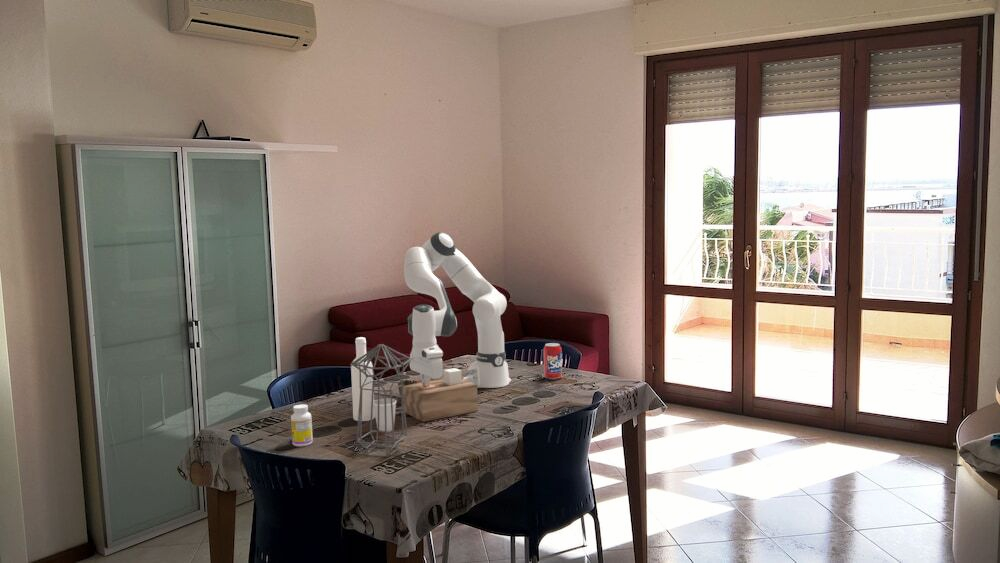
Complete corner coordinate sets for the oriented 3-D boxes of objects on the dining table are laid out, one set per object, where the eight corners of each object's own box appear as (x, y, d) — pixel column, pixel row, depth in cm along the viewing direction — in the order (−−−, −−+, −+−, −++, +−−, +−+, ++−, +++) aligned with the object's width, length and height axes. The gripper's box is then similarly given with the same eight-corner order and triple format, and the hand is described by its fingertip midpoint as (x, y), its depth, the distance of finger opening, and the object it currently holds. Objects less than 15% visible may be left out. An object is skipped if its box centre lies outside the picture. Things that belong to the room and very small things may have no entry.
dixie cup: (376, 425, 274) (374, 398, 273) (399, 425, 274) (398, 398, 273) (371, 433, 266) (370, 404, 265) (395, 432, 266) (394, 404, 265)
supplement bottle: (294, 441, 260) (292, 403, 258) (314, 440, 260) (312, 402, 259) (290, 447, 253) (288, 409, 251) (311, 446, 253) (309, 408, 252)
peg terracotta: (418, 409, 288) (417, 385, 287) (430, 407, 291) (429, 383, 290) (424, 412, 284) (423, 388, 283) (436, 410, 287) (435, 386, 286)
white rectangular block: (444, 393, 294) (443, 369, 293) (455, 391, 296) (454, 368, 295) (450, 395, 289) (449, 372, 288) (462, 393, 292) (461, 370, 291)
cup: (420, 400, 307) (420, 380, 306) (411, 404, 300) (410, 384, 300) (404, 398, 310) (404, 378, 309) (394, 403, 304) (394, 383, 303)
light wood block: (403, 411, 291) (402, 385, 290) (457, 401, 303) (456, 376, 302) (422, 421, 278) (421, 394, 277) (477, 410, 290) (477, 384, 289)
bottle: (368, 422, 279) (364, 340, 275) (349, 420, 282) (345, 339, 278) (379, 416, 286) (375, 336, 283) (360, 414, 289) (356, 335, 286)
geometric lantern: (371, 442, 256) (369, 338, 252) (415, 447, 251) (414, 341, 248) (348, 458, 241) (346, 347, 237) (394, 463, 236) (393, 350, 233)
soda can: (550, 375, 343) (549, 341, 342) (565, 377, 339) (564, 343, 337) (540, 378, 337) (540, 345, 335) (556, 381, 332) (555, 346, 331)
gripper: (404, 345, 292) (406, 381, 294) (429, 355, 275) (430, 392, 276) (420, 343, 295) (421, 379, 297) (445, 352, 278) (446, 390, 280)
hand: (426, 386), depth 287 cm, fingers closed, pressing on peg terracotta
